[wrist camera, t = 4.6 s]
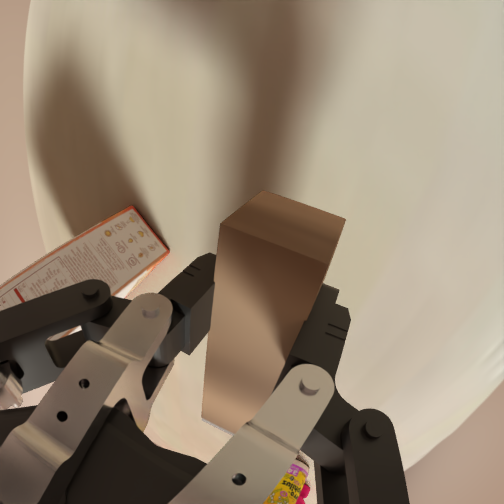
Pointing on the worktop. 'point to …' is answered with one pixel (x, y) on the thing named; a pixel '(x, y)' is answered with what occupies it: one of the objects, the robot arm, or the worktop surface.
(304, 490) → the pepper mill
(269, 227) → the tan flat bar
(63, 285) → the cracker box
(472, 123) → the worktop surface
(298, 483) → the supplement bottle
